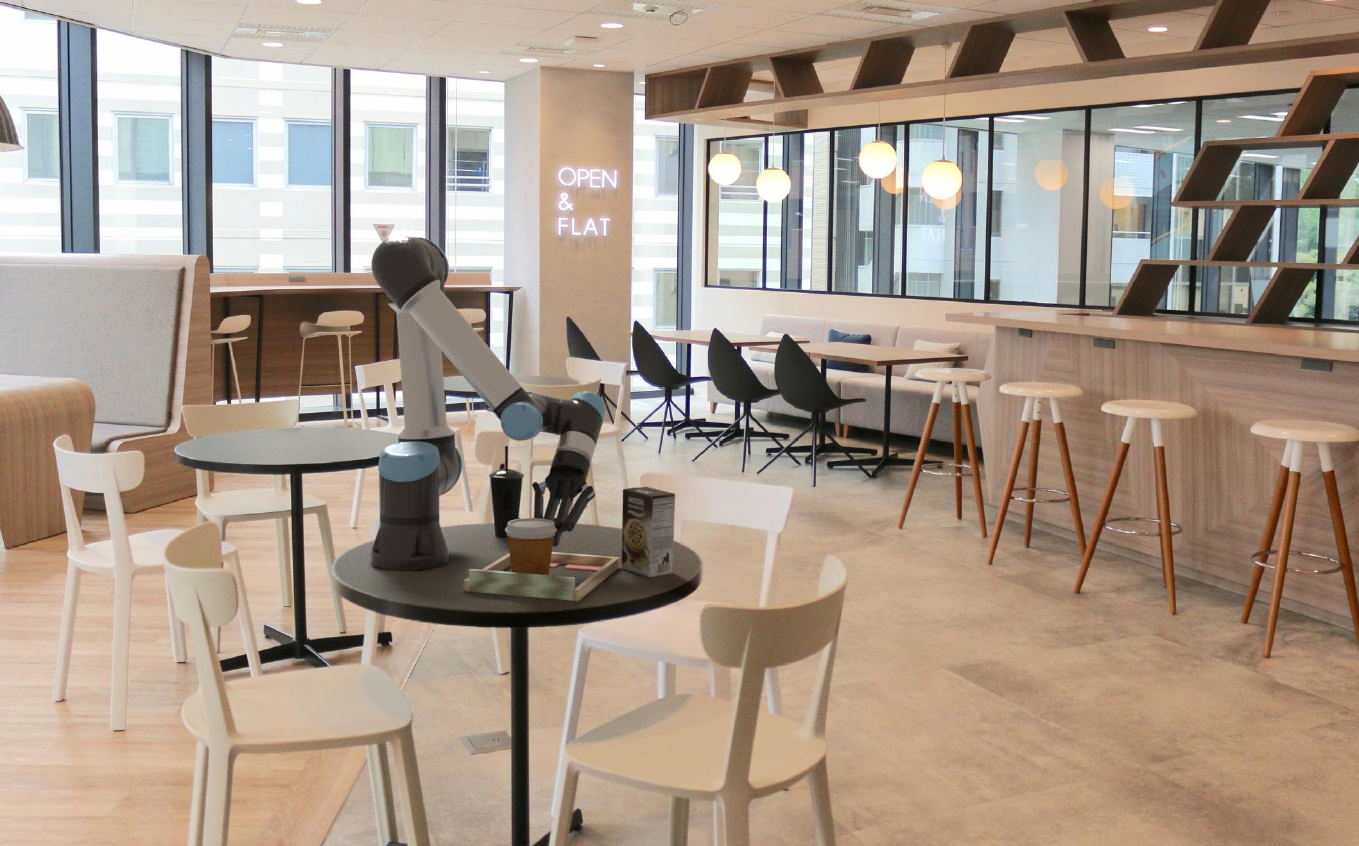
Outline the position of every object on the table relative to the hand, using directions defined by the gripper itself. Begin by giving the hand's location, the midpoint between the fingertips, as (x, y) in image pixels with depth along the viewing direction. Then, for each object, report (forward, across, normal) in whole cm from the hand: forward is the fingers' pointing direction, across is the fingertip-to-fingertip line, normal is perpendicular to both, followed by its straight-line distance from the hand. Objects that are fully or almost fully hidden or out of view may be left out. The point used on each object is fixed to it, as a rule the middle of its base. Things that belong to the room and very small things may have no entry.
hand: (543, 558), depth 225 cm
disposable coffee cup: (+7, +1, +1) cm, 7 cm away
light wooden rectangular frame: (+2, 0, -4) cm, 4 cm away
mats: (-5, 0, -11) cm, 12 cm away
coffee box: (-6, -17, -12) cm, 22 cm away
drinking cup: (-21, +21, -27) cm, 40 cm away
